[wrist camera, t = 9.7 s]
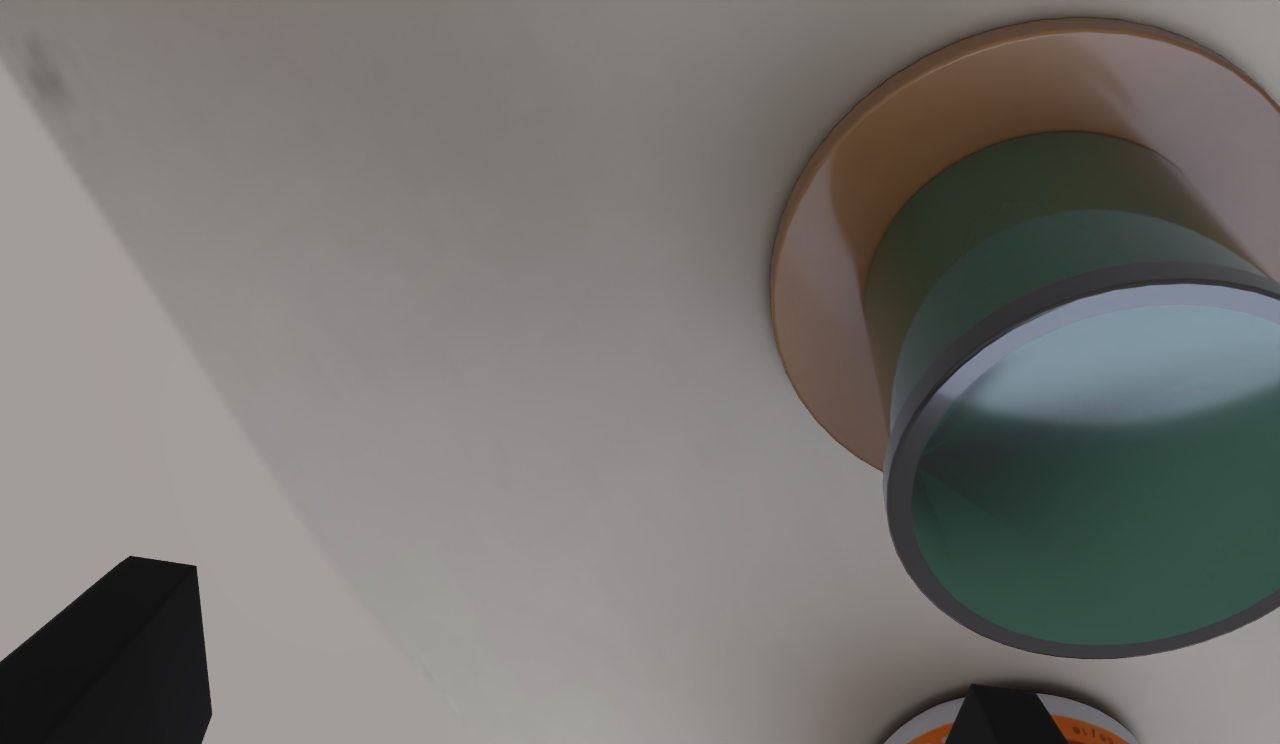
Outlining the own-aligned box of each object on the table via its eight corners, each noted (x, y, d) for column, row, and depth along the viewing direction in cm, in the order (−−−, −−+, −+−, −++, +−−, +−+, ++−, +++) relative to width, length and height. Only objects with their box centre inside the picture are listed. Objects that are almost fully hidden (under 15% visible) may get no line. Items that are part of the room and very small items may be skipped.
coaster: (691, 387, 20) (690, 407, 19) (925, -78, 15) (932, -69, 15) (1105, 537, 21) (1115, 559, 21) (1433, 144, 17) (1454, 160, 16)
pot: (790, 372, 19) (807, 579, 15) (967, 55, 16) (1052, 201, 12) (1092, 483, 20) (1189, 710, 15) (1316, 202, 17) (1513, 390, 12)
